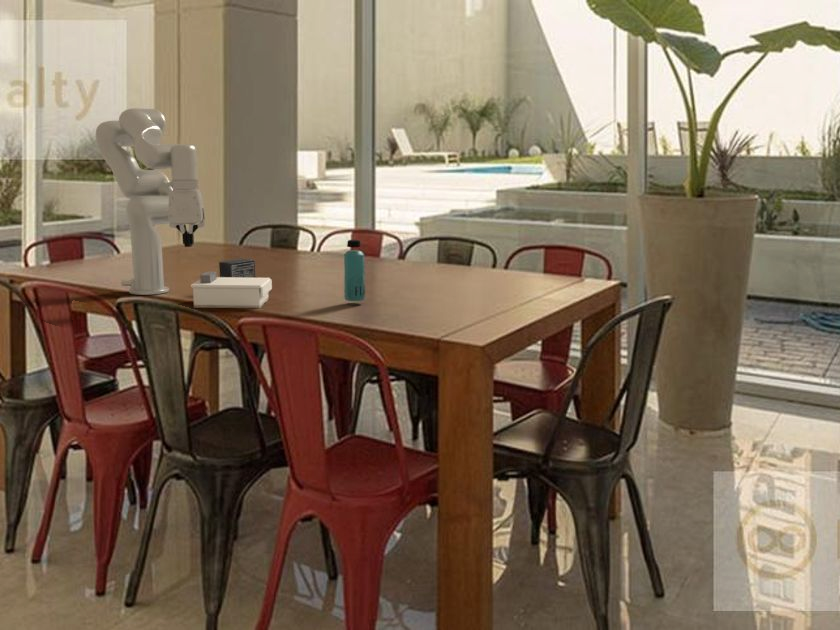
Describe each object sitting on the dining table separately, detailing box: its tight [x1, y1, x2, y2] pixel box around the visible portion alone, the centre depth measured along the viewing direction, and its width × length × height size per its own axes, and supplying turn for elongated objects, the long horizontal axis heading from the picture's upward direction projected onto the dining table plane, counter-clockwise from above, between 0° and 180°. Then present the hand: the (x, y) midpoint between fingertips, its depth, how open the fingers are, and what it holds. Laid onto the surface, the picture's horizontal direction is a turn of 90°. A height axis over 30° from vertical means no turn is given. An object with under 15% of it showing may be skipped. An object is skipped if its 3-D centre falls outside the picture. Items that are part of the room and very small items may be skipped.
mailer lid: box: [190, 270, 273, 297], centre depth 275 cm, size 22×15×6 cm
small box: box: [218, 258, 256, 278], centre depth 297 cm, size 11×6×10 cm, turn 141°
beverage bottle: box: [343, 239, 366, 302], centre depth 274 cm, size 6×7×20 cm
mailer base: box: [192, 288, 269, 309], centre depth 275 cm, size 20×14×6 cm
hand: (188, 246), depth 272 cm, fingers closed
